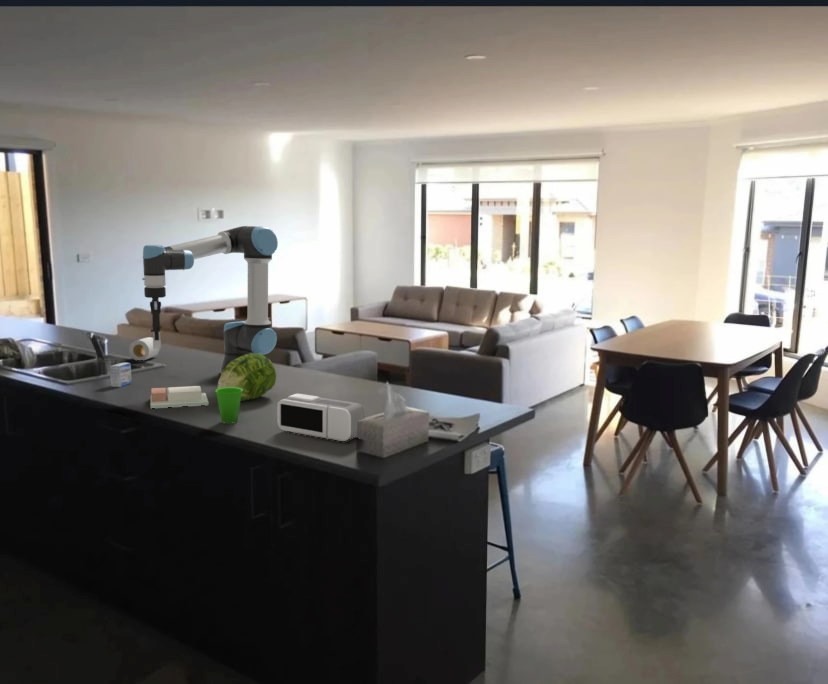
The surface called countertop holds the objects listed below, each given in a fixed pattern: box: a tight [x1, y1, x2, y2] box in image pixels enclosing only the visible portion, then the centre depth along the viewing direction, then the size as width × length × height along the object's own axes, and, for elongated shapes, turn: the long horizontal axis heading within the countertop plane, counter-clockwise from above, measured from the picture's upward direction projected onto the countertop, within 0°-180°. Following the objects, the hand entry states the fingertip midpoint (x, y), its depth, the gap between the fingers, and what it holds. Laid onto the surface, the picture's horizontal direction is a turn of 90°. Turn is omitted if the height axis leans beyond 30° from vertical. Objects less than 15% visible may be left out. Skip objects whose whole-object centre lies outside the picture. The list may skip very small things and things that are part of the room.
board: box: [149, 392, 209, 409], centre depth 272 cm, size 20×15×1 cm
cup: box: [214, 387, 243, 424], centre depth 247 cm, size 9×9×11 cm
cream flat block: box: [166, 385, 203, 401], centre depth 275 cm, size 12×9×3 cm
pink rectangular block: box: [151, 387, 167, 402], centre depth 272 cm, size 5×9×3 cm, turn 20°
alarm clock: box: [276, 393, 365, 442], centre depth 234 cm, size 27×9×12 cm, turn 63°
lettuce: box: [217, 353, 277, 402], centre depth 277 cm, size 17×23×17 cm
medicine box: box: [109, 362, 132, 388], centre depth 297 cm, size 8×4×9 cm, turn 168°
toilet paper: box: [128, 336, 160, 362], centre depth 352 cm, size 10×10×10 cm
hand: (156, 346), depth 278 cm, fingers open, 7 cm apart
